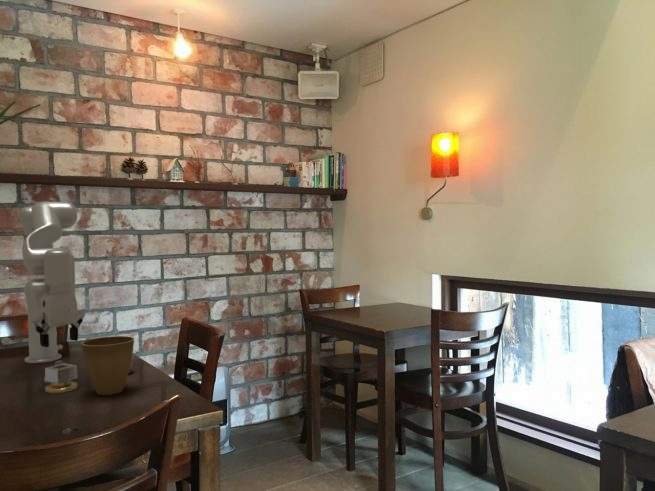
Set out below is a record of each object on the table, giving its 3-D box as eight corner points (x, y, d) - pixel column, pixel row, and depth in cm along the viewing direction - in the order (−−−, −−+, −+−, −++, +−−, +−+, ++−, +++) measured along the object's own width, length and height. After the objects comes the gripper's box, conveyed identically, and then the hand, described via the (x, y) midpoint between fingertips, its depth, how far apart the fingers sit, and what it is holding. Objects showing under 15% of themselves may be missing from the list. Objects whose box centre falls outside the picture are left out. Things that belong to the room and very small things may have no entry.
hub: (56, 384, 171) (55, 365, 171) (82, 384, 170) (82, 365, 170) (38, 393, 162) (38, 373, 162) (66, 393, 161) (66, 373, 161)
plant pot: (145, 388, 165) (144, 337, 165) (104, 402, 152) (102, 347, 152) (114, 382, 173) (113, 333, 172) (72, 394, 160) (71, 342, 160)
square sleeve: (45, 380, 165) (45, 367, 165) (64, 375, 171) (64, 363, 171) (57, 383, 162) (57, 370, 162) (77, 378, 167) (76, 365, 167)
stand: (54, 375, 182) (54, 357, 182) (79, 375, 181) (79, 358, 181) (38, 383, 173) (37, 364, 173) (64, 383, 172) (63, 364, 172)
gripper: (38, 293, 156) (39, 350, 157) (90, 286, 171) (91, 339, 172) (23, 291, 160) (25, 347, 161) (76, 285, 175) (77, 336, 176)
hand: (59, 343), depth 166 cm, fingers open, 9 cm apart
